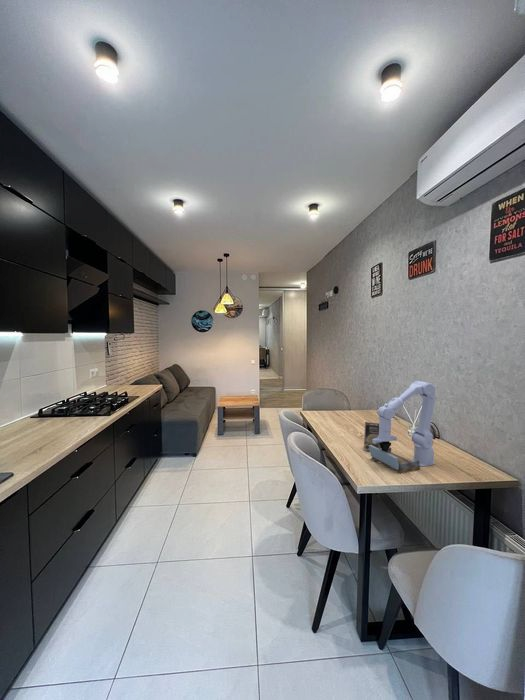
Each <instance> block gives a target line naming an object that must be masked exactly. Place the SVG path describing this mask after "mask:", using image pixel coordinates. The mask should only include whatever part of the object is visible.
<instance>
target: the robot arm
mask: <svg viewBox="0 0 525 700" xmlns="http://www.w3.org/2000/svg"><path fill="white" fill-rule="evenodd" d="M435 393H436V387H435V386H434V385H433V383H431V382H427V381H421V380H415V381H413V382H412V383H411V384H410V386H409V387H408V388H407V389H406V390H405V391H403V392H402V393H401V395H400V396H398V397H392V398H391V399H390V400H389V402H387V403H386V404H384V405H383V406H380V407H379V408H378V410H377V411H376V414H377V416H378V419H379V420H378V421H379V422H378V423H379V436H378V437H377V438H375V439H372V443H374V444H376V443H379V445H380V447H381V450H383V451H385V452H387V451H388V449H389V448H391V446H392V441H394V442H395V441H398V440H397V439H398V438H397V436H395V435H392V434H391V433H392V419H393V417H394V416H395V414H396V412H397V411H399V410H400V409H401V408H402V407H404V403H405V402H406V401H408V400H410V399H411V398H412V397H414V396H415V395H418V396H420V397H421V398H422V403H421V410H420V416H419V420H418V421H419V422H418V427H416V428H415V429H414V430H413V433H412V435H411V441H412V442H413V445H414V446H413V448H414V449H413V459H410V460H409V461H416V460H418V461H419V466H420V467H427V466H433V465H435V464H436V463H435V459H434V458H435V451H434V448H433V445H434V439H433V438H434V435H433V433H432V432H431V425H432V419H433V413H434V410H435V409H434V408H435V401H436V394H435Z"/></svg>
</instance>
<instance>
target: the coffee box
mask: <svg viewBox="0 0 525 700" xmlns="http://www.w3.org/2000/svg"><path fill="white" fill-rule="evenodd" d="M363 435H364V439H363V450H364V452H369V453H370V448H369V445H372V446H374V447H377V448H379V449H381V447H380V445H379V443H376V444H374V443H372V439H375V438H377V437H378V436H379V422H369V421H365V422H364V433H363Z"/></svg>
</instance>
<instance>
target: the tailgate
mask: <svg viewBox="0 0 525 700" xmlns="http://www.w3.org/2000/svg"><path fill="white" fill-rule="evenodd" d="M369 448H370V452H369V454H370V455H369V456H371V458H372V457H374V458H376V459H378V460H380V461H382V462H383V463H385V464H387V465H389V466H391V467H393V468H395V469H397V470H399V464H398V458H397V457H395V456H393V455H391V454H389V453H387V452H385V451H383V450H381V449H379V448H377V447H374V446H372V445H369Z"/></svg>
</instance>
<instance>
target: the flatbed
mask: <svg viewBox="0 0 525 700" xmlns="http://www.w3.org/2000/svg"><path fill="white" fill-rule="evenodd" d="M387 453H389V454H391V455H393V456H395V457H397V458H398V464H399V470H397V469H395V468H393V467H391V466H389V465H387V464H385V463H383V462H382V461H380V460H378V459H376V458H374V457H372V456H371V458H372V459H373V460H374V461H376V462H378V461H379V463H380V462H381V463H380V464H382V465H384V466H386V467H388V468H389V467H390V469H391V470H393V471H395V472H396V473H399V474H405V473H410V472H415V471H420V469H421V466H420V465H419V461H418V460H416V461H410V460H408V459H407V458H405V457H403V456H400V455H398V454H396V453H395V452H392V447H389V449H388V451H387Z"/></svg>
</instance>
